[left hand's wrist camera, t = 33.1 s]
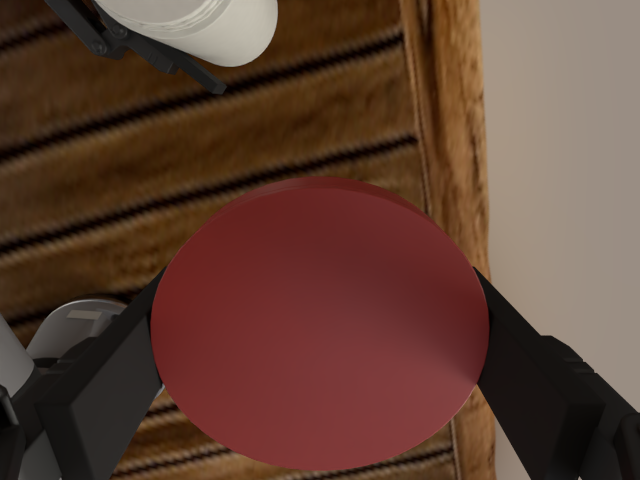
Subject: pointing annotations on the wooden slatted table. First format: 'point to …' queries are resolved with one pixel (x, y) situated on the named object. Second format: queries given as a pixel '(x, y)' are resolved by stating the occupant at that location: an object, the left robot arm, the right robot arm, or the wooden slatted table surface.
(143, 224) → the wooden slatted table surface
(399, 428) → the lid
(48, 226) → the wooden slatted table surface
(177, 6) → the jar
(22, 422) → the left robot arm
